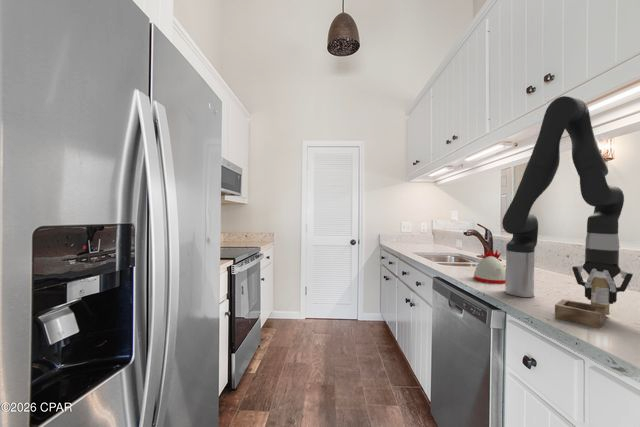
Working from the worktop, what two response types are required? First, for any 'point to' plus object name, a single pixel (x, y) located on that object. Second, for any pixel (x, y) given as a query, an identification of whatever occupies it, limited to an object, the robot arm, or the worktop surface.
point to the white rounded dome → (490, 269)
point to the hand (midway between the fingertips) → (600, 301)
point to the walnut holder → (580, 313)
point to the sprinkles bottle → (600, 291)
